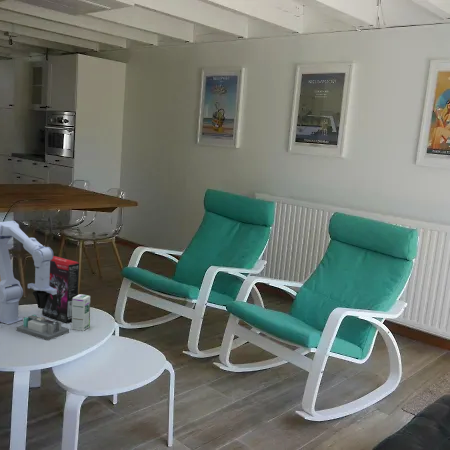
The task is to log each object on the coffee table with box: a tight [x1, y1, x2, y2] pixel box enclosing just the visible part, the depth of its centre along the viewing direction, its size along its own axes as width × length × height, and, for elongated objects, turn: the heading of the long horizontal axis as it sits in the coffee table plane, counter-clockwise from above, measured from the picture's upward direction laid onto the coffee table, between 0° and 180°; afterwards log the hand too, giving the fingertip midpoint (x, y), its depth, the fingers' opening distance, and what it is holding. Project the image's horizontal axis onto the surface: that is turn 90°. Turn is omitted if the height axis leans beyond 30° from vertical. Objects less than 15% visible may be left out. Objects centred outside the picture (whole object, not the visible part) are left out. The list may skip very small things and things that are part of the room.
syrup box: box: [71, 293, 91, 332], centre depth 228 cm, size 6×6×14 cm
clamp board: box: [15, 314, 70, 341], centre depth 222 cm, size 18×12×5 cm, turn 63°
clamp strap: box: [27, 314, 58, 326], centre depth 221 cm, size 15×3×2 cm, turn 63°
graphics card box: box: [41, 255, 80, 323], centre depth 238 cm, size 17×7×27 cm, turn 58°
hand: (41, 307), depth 220 cm, fingers closed
